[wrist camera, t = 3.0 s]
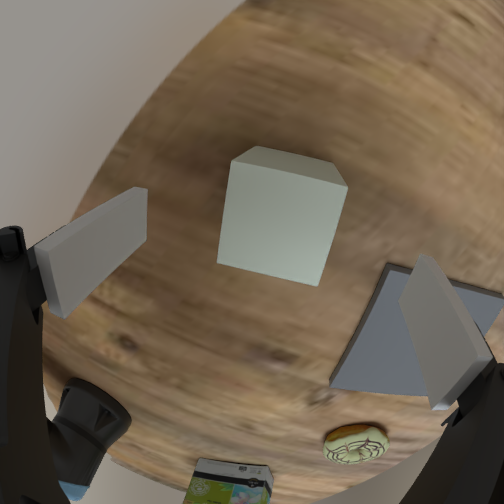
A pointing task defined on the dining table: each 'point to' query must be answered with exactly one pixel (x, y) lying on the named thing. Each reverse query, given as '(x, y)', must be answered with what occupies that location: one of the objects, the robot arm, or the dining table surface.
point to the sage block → (280, 214)
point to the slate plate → (398, 338)
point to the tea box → (229, 484)
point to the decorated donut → (355, 444)
